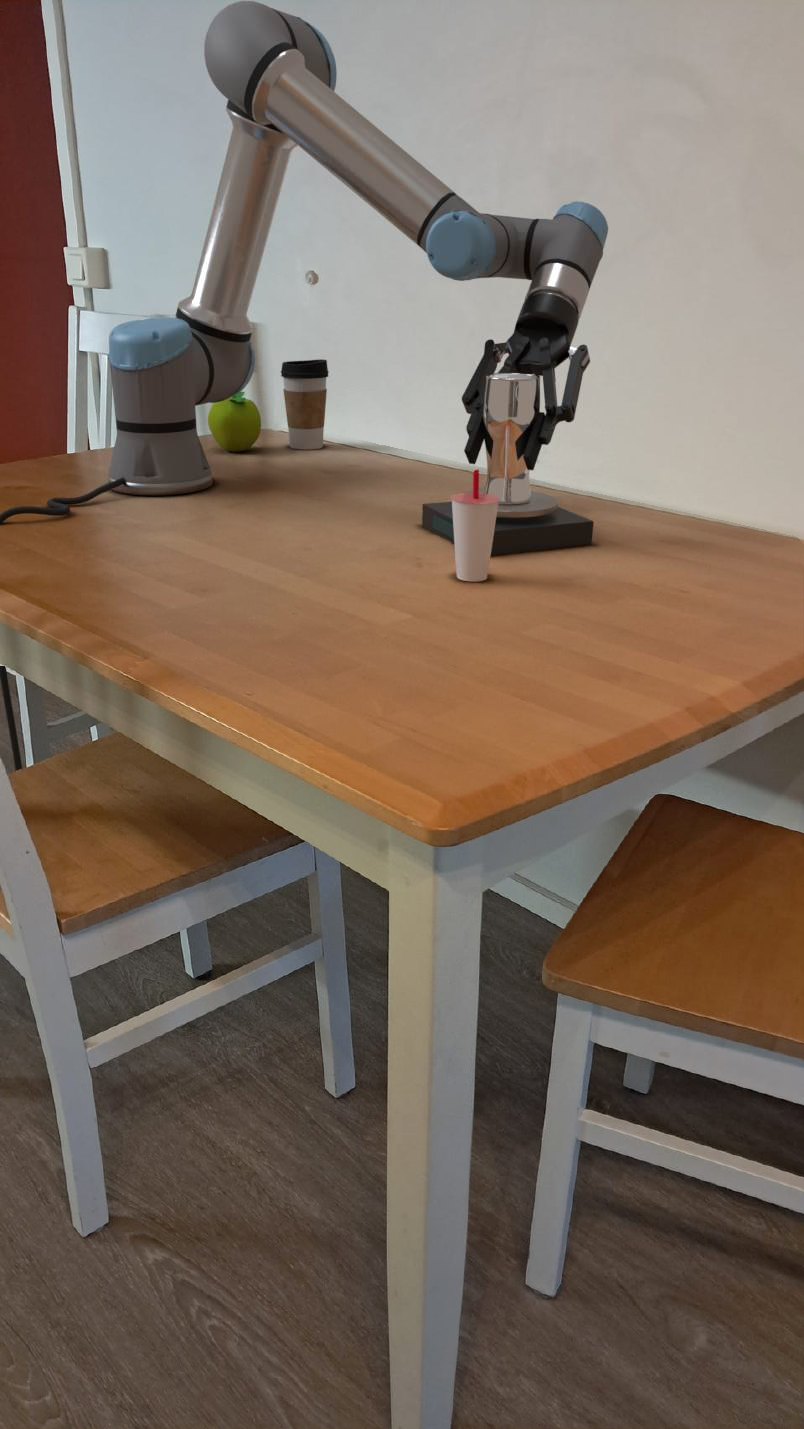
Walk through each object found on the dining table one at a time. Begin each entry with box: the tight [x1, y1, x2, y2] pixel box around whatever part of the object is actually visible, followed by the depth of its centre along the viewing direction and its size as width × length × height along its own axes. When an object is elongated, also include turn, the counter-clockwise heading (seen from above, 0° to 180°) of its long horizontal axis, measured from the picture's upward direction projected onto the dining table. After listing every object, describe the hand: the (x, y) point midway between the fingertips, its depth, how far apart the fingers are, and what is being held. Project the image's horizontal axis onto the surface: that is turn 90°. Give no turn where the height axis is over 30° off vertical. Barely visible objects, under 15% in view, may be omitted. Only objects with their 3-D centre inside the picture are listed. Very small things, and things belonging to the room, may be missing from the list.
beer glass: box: [483, 372, 541, 505], centre depth 132 cm, size 7×7×15 cm
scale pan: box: [464, 488, 559, 518], centre depth 135 cm, size 13×13×1 cm
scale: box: [421, 501, 595, 557], centre depth 136 cm, size 16×16×3 cm
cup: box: [450, 469, 500, 583], centre depth 117 cm, size 5×5×12 cm
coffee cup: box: [280, 358, 329, 451], centre depth 190 cm, size 8×8×15 cm
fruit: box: [207, 391, 262, 453], centre depth 187 cm, size 9×9×10 cm
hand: (498, 460), depth 130 cm, fingers closed on beer glass, 7 cm apart
